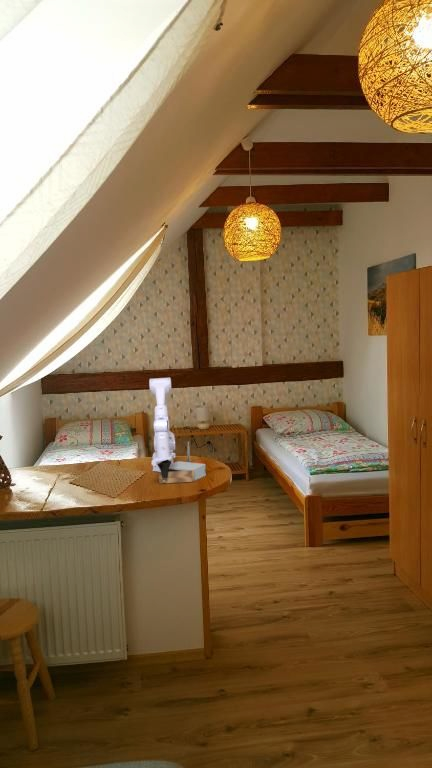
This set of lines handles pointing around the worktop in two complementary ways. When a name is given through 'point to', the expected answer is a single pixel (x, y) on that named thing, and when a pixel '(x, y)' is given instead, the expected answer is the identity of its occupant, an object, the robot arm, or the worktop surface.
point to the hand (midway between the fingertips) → (164, 477)
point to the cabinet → (189, 468)
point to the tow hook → (189, 453)
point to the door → (177, 477)
